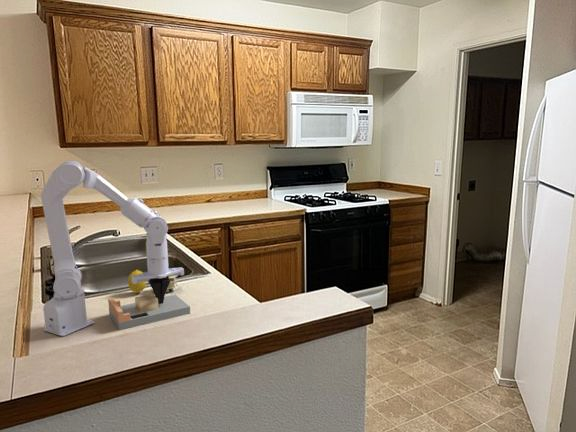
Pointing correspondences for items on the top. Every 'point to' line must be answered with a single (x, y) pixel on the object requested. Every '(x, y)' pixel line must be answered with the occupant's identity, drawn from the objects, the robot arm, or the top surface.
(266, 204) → the top surface
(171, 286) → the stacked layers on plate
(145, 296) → the birch block
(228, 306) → the top surface
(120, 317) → the terracotta end wall
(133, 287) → the lemon
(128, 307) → the slate board
